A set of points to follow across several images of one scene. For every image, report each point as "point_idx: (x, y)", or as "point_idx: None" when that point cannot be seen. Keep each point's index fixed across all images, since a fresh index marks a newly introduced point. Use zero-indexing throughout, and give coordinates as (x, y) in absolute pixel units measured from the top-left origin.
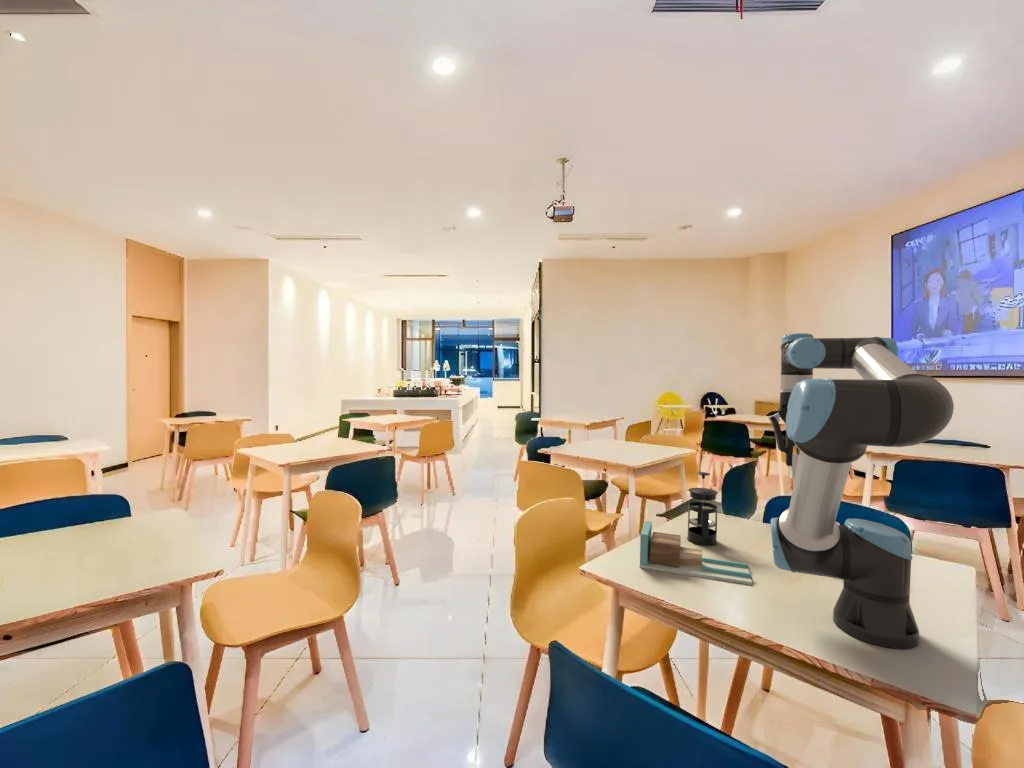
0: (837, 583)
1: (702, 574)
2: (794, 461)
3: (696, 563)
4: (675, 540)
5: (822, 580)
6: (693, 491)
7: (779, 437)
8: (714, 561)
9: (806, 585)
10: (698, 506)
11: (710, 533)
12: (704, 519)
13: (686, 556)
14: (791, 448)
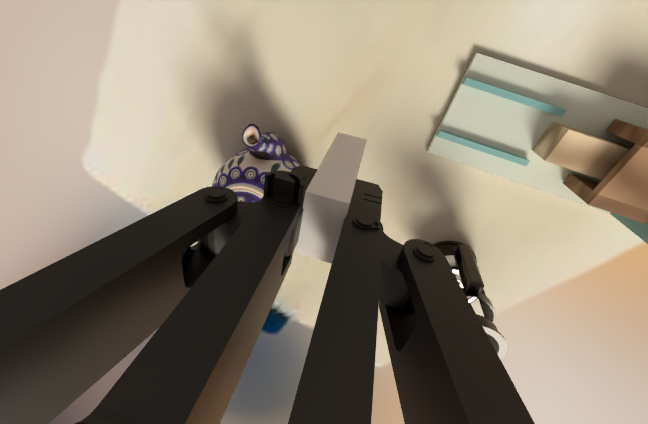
0: (290, 83)
1: (576, 85)
2: (344, 177)
3: (568, 127)
4: (635, 169)
5: (311, 94)
6: (499, 347)
7: (488, 378)
8: (502, 151)
9: (354, 66)
10: None
11: None
12: (476, 271)
13: (597, 138)
14: (351, 242)
